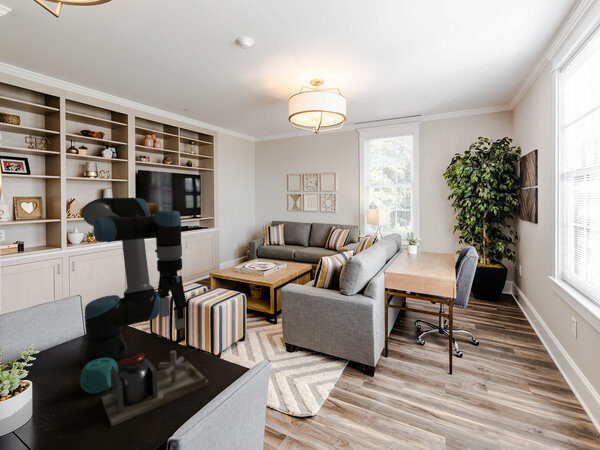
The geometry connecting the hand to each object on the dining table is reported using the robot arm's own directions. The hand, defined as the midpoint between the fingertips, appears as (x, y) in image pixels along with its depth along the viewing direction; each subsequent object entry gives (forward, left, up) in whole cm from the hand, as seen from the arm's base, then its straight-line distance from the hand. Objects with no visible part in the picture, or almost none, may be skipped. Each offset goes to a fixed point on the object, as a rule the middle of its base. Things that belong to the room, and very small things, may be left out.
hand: (172, 322), depth 100 cm
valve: (0, -12, -22) cm, 25 cm away
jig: (0, -6, -22) cm, 22 cm away
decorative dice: (-16, -19, -22) cm, 33 cm away
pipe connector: (0, 0, -21) cm, 21 cm away
